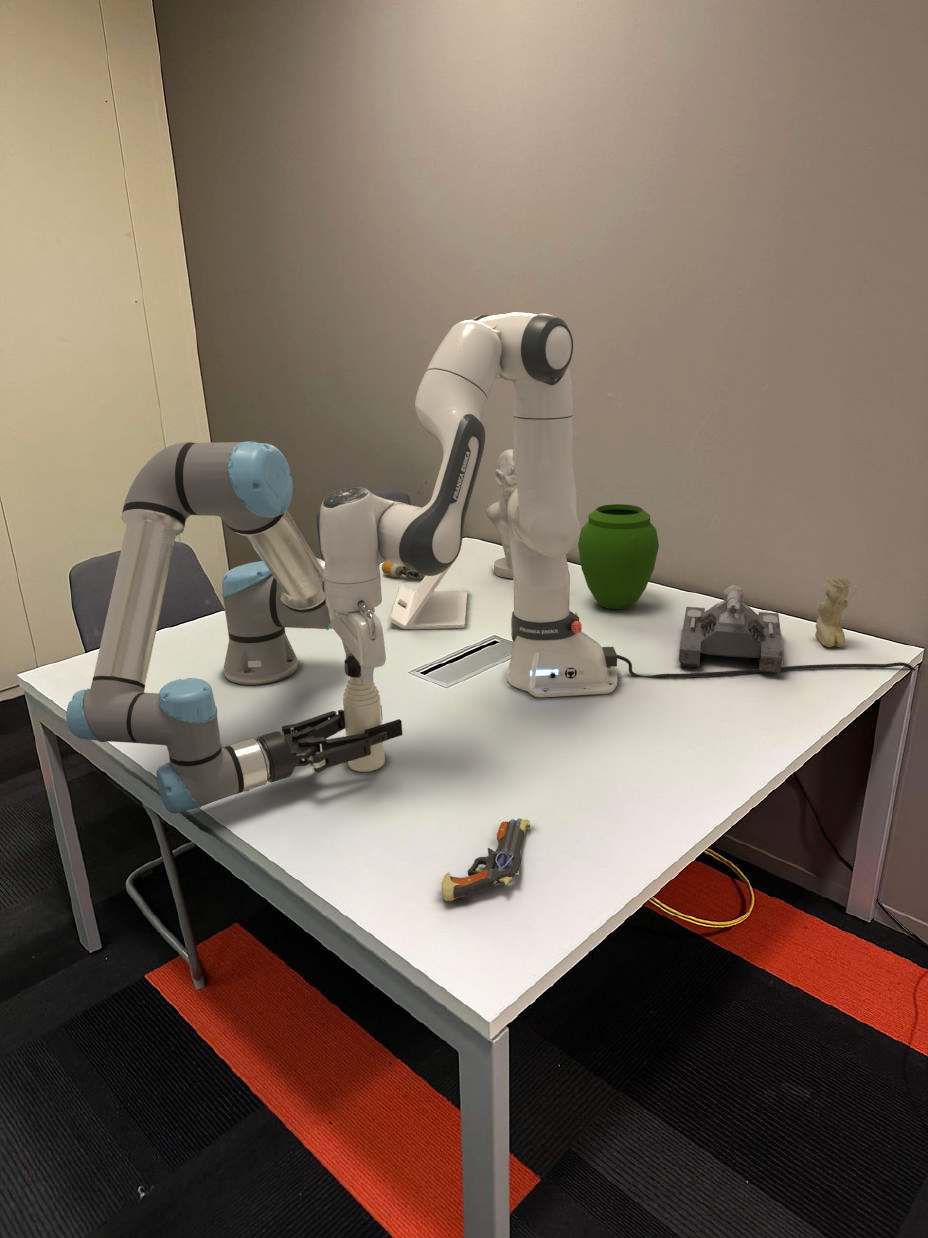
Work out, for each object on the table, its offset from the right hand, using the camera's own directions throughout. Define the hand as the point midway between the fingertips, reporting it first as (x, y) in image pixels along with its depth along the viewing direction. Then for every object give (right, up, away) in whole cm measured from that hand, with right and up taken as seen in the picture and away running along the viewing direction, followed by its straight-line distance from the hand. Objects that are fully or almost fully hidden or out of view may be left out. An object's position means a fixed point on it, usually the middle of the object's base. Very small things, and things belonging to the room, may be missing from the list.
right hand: (359, 673), depth 139 cm
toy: (+74, +2, +46) cm, 87 cm away
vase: (+55, +12, +75) cm, 94 cm away
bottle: (0, -16, +6) cm, 17 cm away
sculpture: (+97, +3, +48) cm, 108 cm away
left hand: (+4, -8, +6) cm, 11 cm away
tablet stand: (+9, +11, +75) cm, 76 cm away
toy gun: (+20, -25, -21) cm, 39 cm away
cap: (0, +2, -1) cm, 2 cm away
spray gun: (+2, +22, +106) cm, 108 cm away
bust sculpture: (+34, +21, +100) cm, 108 cm away
